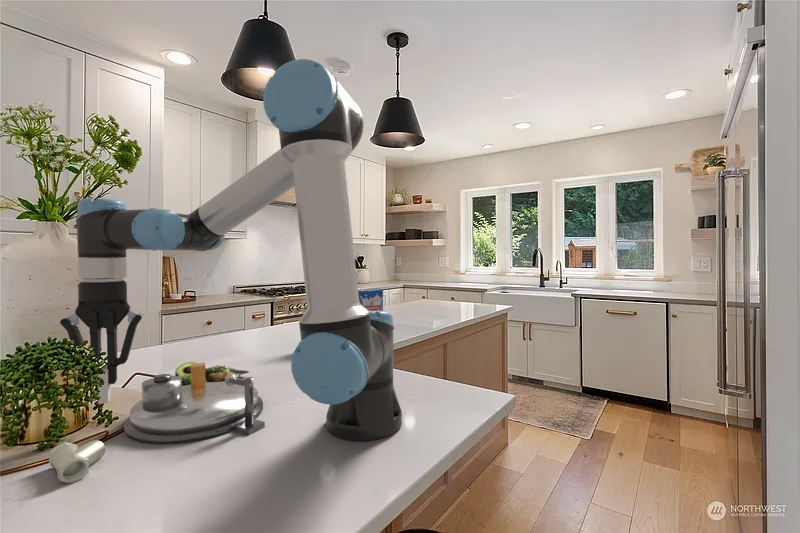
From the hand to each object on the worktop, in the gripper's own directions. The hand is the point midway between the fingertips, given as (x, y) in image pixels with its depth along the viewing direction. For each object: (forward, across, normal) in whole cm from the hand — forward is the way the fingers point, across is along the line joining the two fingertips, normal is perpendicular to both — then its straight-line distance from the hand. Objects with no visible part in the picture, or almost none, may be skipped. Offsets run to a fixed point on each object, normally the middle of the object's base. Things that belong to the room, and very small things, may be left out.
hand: (104, 401), depth 77 cm
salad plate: (+6, -17, -25) cm, 31 cm away
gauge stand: (+5, -24, +11) cm, 27 cm away
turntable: (+4, -16, 0) cm, 17 cm away
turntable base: (+6, -16, 0) cm, 17 cm away
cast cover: (+2, -10, 0) cm, 10 cm away
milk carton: (+6, -77, -54) cm, 94 cm away
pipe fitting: (+6, 0, +15) cm, 17 cm away
